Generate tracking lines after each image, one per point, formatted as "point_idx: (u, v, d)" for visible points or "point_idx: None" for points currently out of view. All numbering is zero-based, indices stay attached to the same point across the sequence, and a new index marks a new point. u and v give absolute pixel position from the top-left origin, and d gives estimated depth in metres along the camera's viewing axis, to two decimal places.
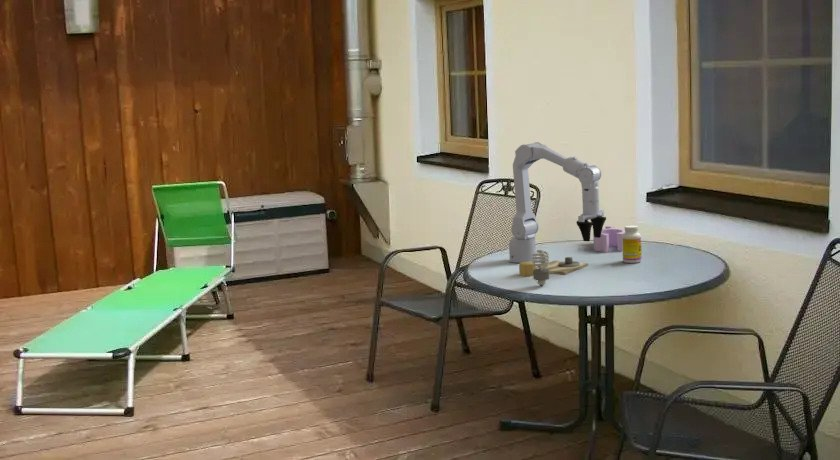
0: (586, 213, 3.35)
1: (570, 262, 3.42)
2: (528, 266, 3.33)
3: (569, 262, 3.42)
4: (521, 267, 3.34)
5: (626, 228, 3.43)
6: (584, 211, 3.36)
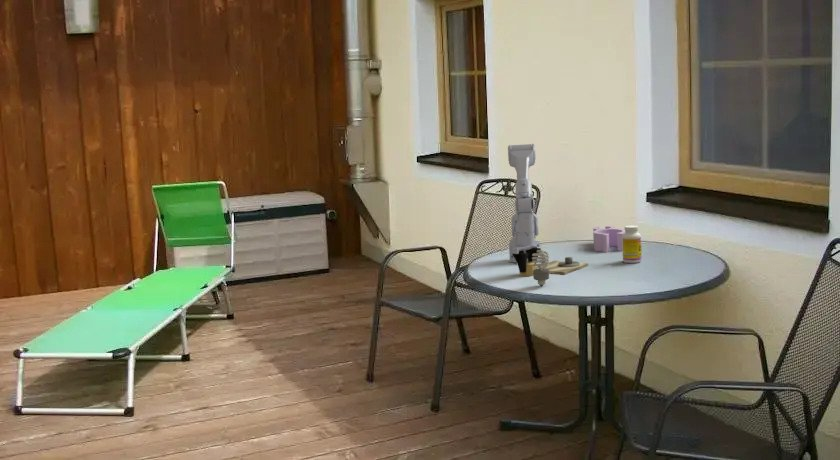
0: (521, 244, 3.32)
1: (570, 262, 3.42)
2: (528, 266, 3.33)
3: (569, 262, 3.42)
4: None
5: (626, 228, 3.43)
6: (519, 242, 3.33)
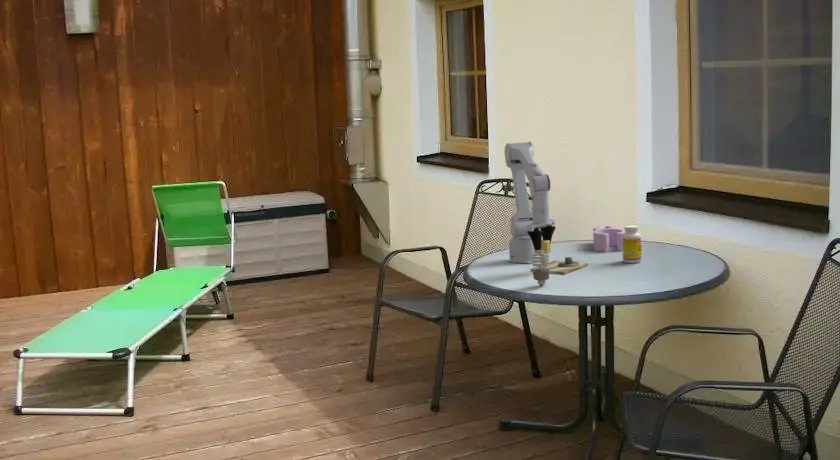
0: (536, 222, 3.34)
1: (570, 262, 3.42)
2: (543, 244, 3.34)
3: (569, 262, 3.42)
4: None
5: (626, 228, 3.43)
6: (534, 220, 3.35)
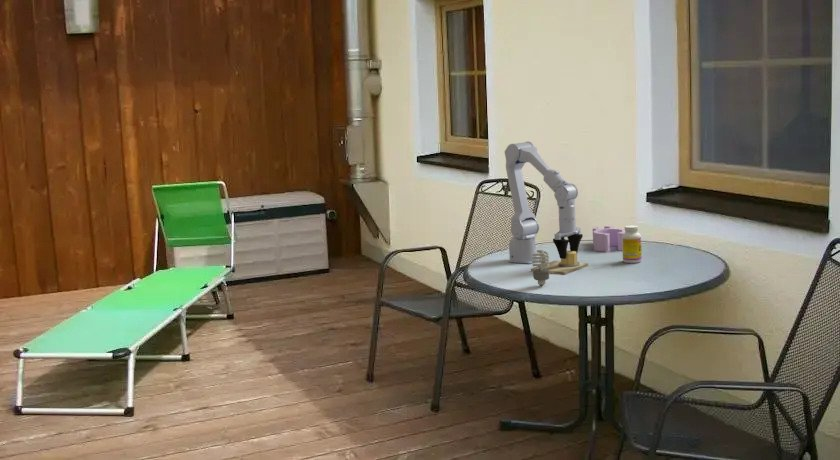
0: (562, 231, 3.39)
1: None
2: (570, 255, 3.40)
3: None
4: None
5: (626, 228, 3.43)
6: (560, 229, 3.40)
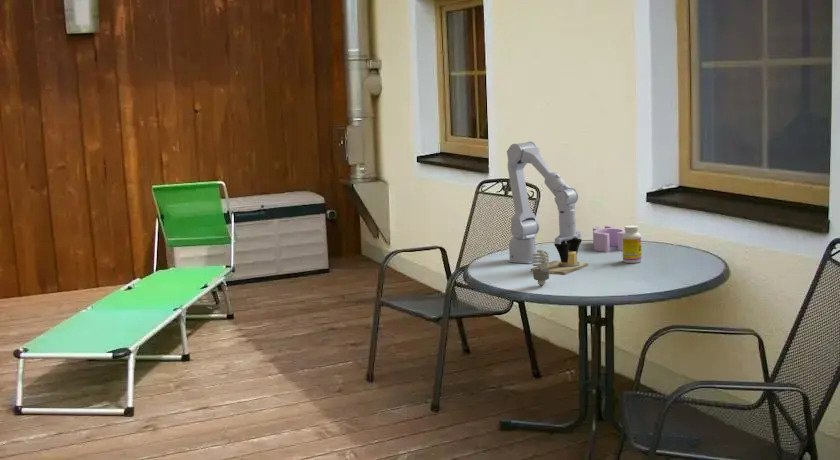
0: (563, 235, 3.40)
1: None
2: (570, 255, 3.40)
3: None
4: None
5: (626, 228, 3.43)
6: (561, 233, 3.40)
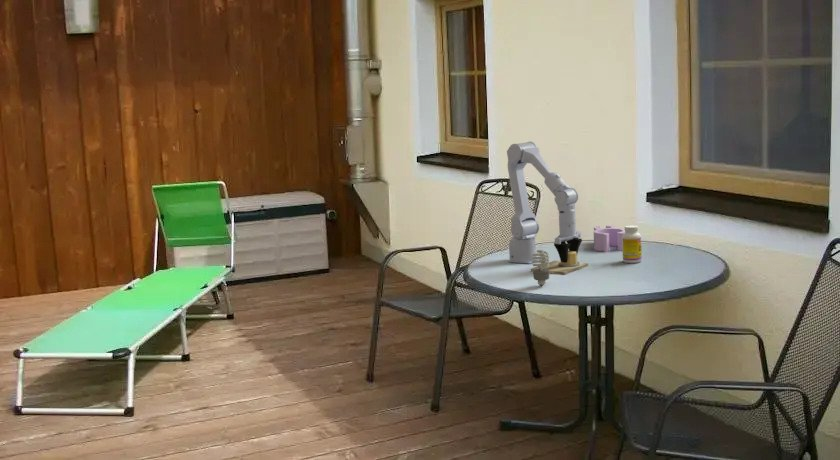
0: (563, 235, 3.40)
1: None
2: (575, 254, 3.41)
3: None
4: (570, 256, 3.40)
5: (626, 228, 3.43)
6: (561, 233, 3.40)
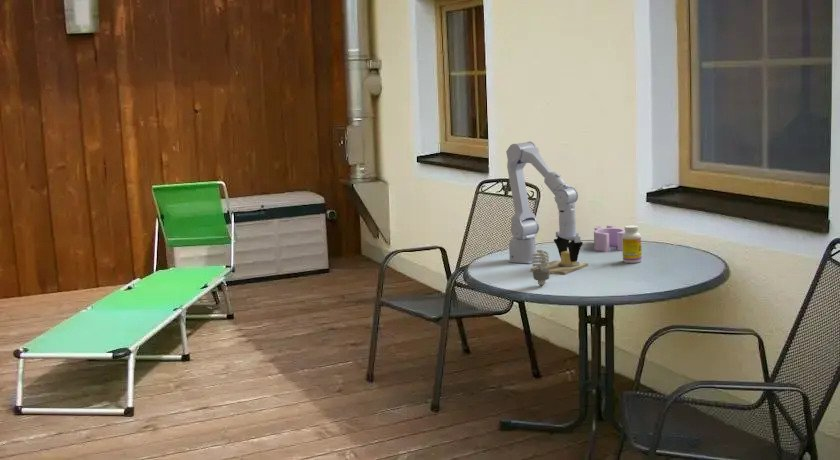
0: (571, 234, 3.39)
1: None
2: None
3: None
4: None
5: (626, 228, 3.43)
6: (568, 232, 3.39)
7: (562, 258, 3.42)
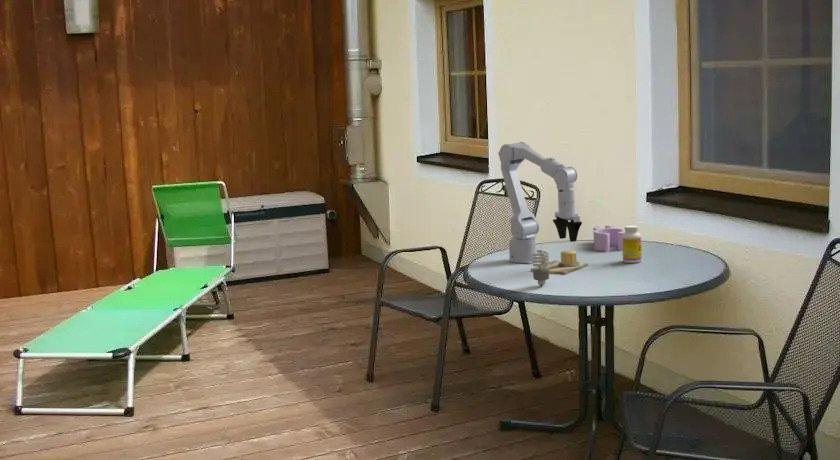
0: (570, 214, 3.38)
1: None
2: None
3: None
4: None
5: (626, 228, 3.43)
6: (567, 212, 3.37)
7: (562, 258, 3.42)
